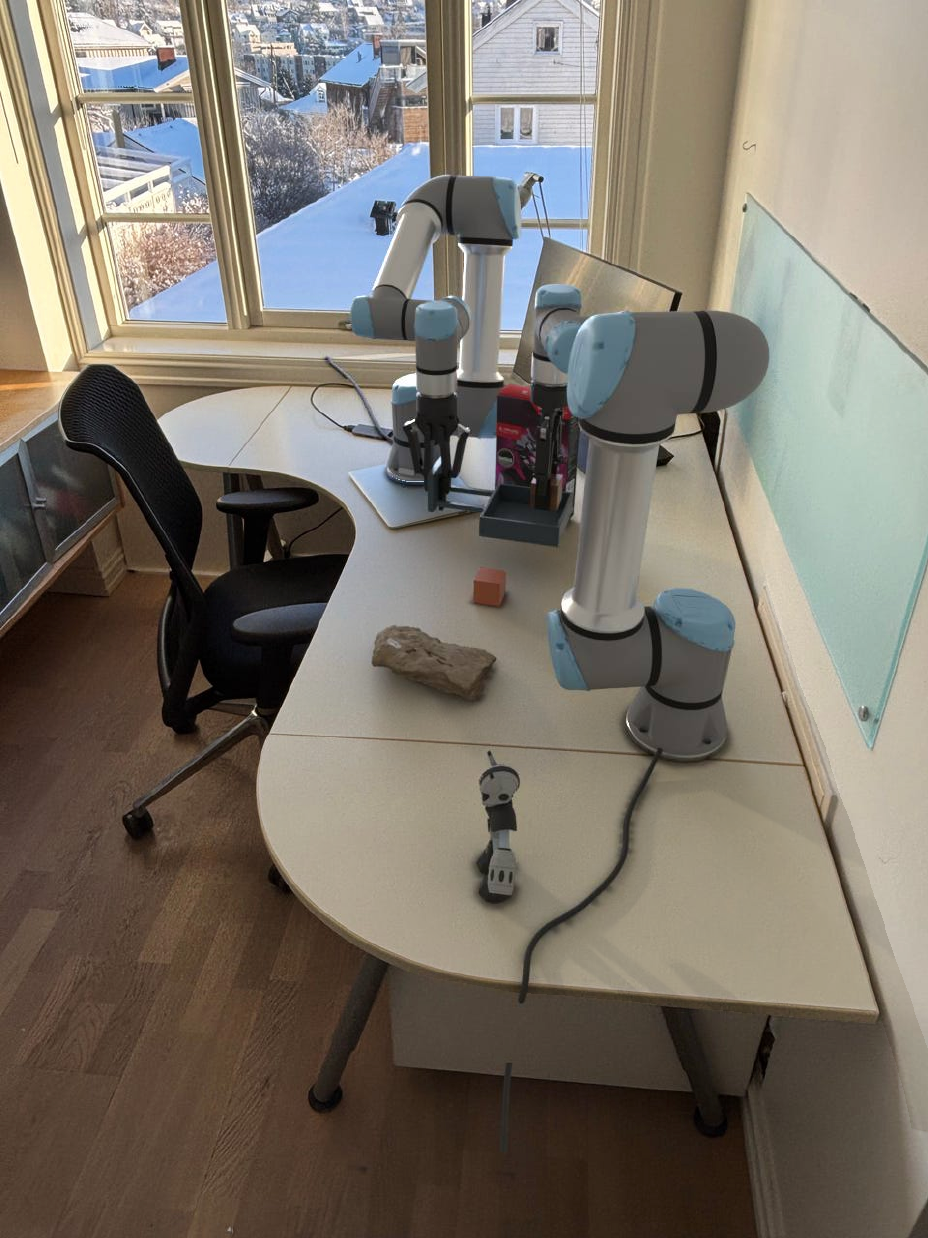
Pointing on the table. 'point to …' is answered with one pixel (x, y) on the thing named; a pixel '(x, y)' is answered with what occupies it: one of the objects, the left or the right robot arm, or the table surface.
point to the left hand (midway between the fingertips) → (437, 506)
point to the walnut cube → (555, 491)
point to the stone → (433, 661)
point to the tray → (507, 512)
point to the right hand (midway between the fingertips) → (545, 501)
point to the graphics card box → (530, 440)
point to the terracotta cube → (489, 586)
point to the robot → (498, 831)
